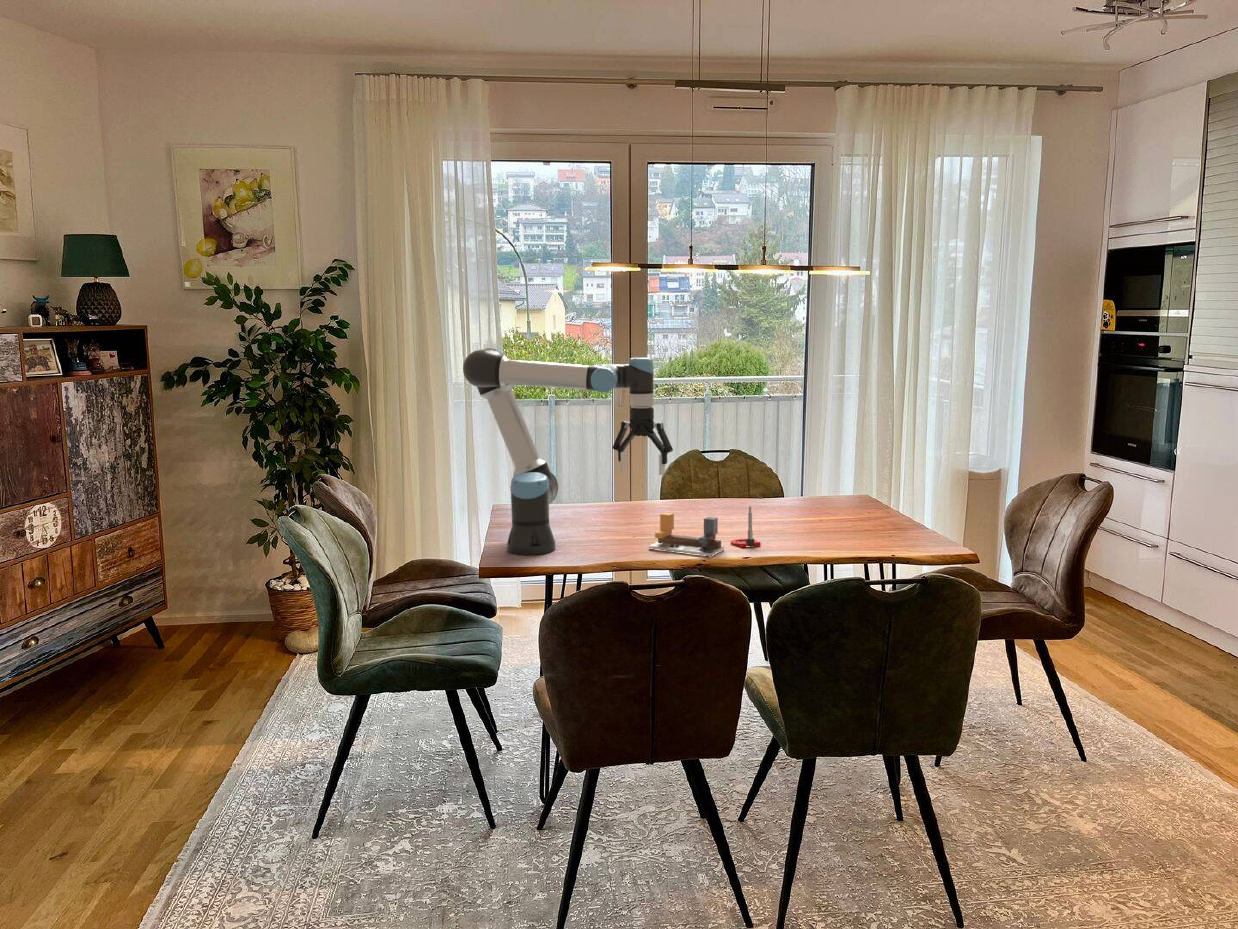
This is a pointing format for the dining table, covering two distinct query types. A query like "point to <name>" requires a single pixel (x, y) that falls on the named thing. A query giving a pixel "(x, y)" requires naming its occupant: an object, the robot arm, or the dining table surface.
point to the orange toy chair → (665, 526)
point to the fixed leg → (709, 531)
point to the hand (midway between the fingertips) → (642, 473)
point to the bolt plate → (687, 545)
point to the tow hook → (750, 540)
